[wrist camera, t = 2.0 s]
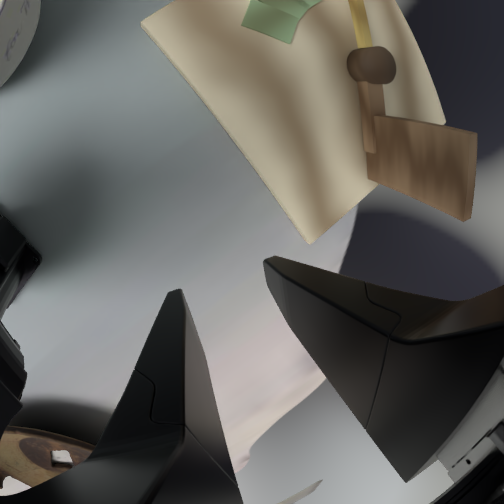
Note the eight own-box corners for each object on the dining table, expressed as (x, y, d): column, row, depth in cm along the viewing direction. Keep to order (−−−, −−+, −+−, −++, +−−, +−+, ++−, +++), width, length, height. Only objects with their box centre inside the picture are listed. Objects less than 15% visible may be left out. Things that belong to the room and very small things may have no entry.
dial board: (304, 240, 26) (311, 245, 25) (140, 26, 14) (140, 21, 13) (439, 120, 25) (447, 122, 24) (345, -60, 14) (353, -64, 13)
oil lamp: (146, 481, 37) (155, 520, 30) (-16, 458, 24) (-19, 494, 18) (150, 411, 29) (161, 469, 22) (-71, 371, 16) (-88, 418, 10)
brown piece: (326, -29, 15) (422, -68, 6) (356, -23, 15) (452, -51, 7) (358, 181, 24) (455, 226, 15) (384, 174, 24) (477, 214, 16)
